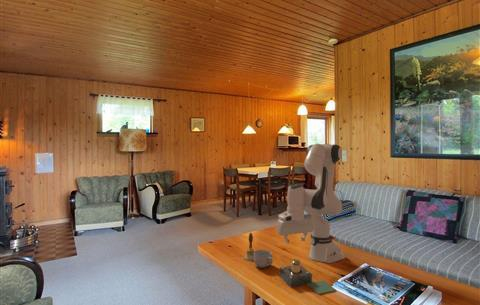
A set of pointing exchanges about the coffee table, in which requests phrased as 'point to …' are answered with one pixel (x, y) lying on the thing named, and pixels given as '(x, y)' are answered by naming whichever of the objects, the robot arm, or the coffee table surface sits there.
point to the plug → (295, 266)
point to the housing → (295, 276)
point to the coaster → (321, 287)
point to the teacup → (263, 258)
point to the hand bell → (250, 250)
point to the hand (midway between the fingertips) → (295, 241)
